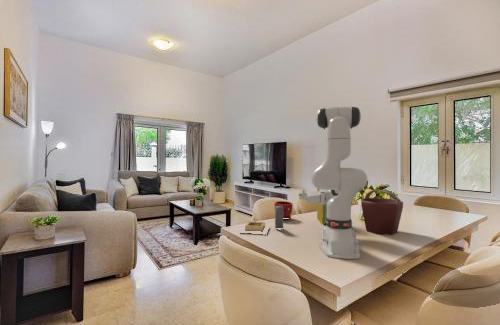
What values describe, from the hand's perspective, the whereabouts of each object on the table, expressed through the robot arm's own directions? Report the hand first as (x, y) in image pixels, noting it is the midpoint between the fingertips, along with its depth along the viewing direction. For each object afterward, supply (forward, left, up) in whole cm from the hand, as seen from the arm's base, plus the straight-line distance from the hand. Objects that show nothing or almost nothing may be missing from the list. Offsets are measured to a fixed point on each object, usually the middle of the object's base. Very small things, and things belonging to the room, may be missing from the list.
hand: (299, 196), depth 153 cm
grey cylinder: (0, +12, -21) cm, 24 cm away
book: (+25, -17, -21) cm, 37 cm away
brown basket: (+7, -48, -21) cm, 53 cm away
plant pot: (+29, +11, -21) cm, 37 cm away
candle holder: (-6, +26, -21) cm, 34 cm away
